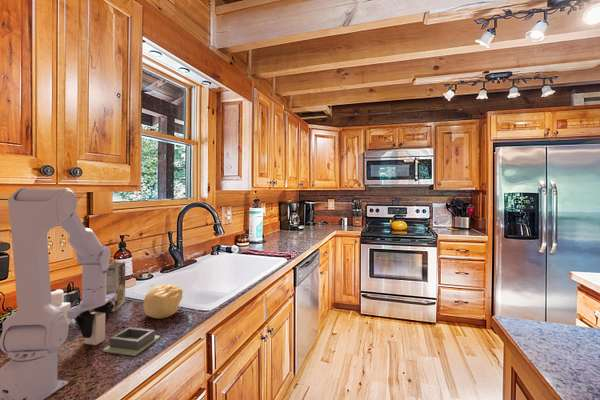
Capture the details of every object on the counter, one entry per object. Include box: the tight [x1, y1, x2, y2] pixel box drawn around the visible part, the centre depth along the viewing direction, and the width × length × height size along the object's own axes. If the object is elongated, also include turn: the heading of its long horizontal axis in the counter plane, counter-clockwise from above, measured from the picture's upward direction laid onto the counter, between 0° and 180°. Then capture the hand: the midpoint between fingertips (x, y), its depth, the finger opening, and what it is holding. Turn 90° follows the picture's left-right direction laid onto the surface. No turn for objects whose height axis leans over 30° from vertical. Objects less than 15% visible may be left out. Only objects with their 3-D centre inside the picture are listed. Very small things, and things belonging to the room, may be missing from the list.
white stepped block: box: [51, 288, 72, 326], centre depth 91 cm, size 7×7×12 cm
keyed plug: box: [83, 311, 106, 346], centre depth 84 cm, size 3×5×8 cm, turn 80°
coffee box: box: [106, 261, 126, 312], centre depth 109 cm, size 9×6×16 cm
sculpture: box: [143, 283, 183, 319], centre depth 103 cm, size 12×12×11 cm
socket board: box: [102, 326, 161, 357], centre depth 83 cm, size 10×10×3 cm
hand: (94, 333), depth 84 cm, fingers open, 4 cm apart
